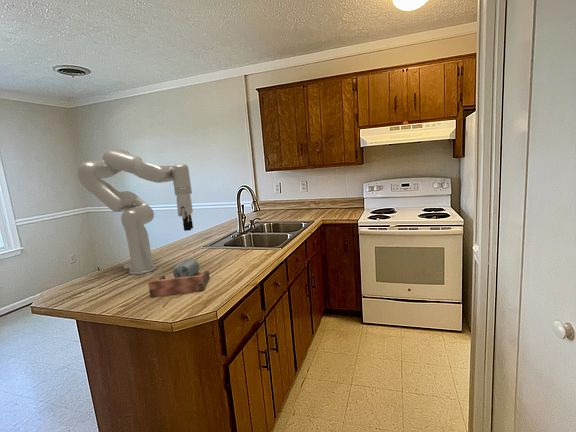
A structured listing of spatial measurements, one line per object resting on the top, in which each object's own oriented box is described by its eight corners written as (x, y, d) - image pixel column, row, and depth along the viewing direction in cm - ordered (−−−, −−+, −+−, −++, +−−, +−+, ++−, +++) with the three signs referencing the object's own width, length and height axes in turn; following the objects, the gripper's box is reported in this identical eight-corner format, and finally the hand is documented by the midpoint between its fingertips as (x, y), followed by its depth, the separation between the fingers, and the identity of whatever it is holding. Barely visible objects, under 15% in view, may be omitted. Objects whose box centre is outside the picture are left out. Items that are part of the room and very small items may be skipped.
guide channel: (150, 297, 121) (147, 282, 120) (162, 282, 136) (160, 269, 135) (203, 290, 122) (201, 276, 121) (209, 277, 137) (207, 264, 136)
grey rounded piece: (189, 277, 130) (180, 255, 132) (172, 287, 133) (163, 265, 135) (208, 273, 143) (199, 253, 145) (192, 282, 145) (184, 263, 148)
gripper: (179, 190, 155) (184, 227, 158) (170, 193, 139) (176, 234, 142) (194, 189, 155) (200, 225, 158) (187, 192, 139) (193, 232, 142)
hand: (188, 229), depth 150 cm, fingers open, 3 cm apart
